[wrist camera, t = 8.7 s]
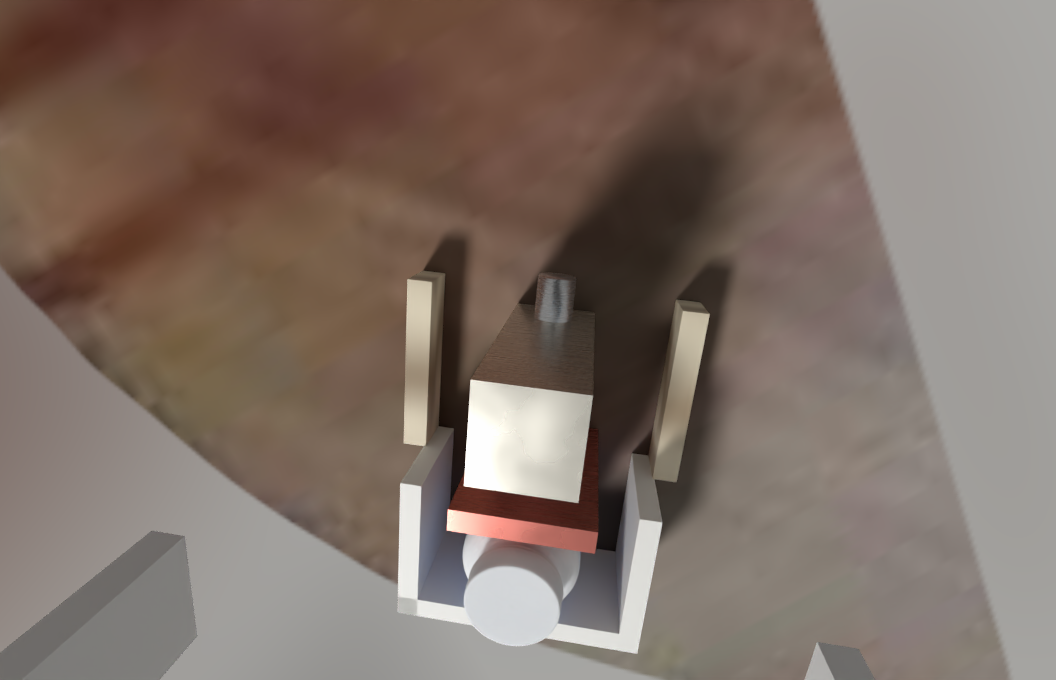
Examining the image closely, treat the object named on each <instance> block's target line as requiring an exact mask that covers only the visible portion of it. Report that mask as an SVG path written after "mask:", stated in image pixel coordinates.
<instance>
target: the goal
mask: <svg viewBox="0 0 1056 680" xmlns="http://www.w3.org/2000/svg"><path fill="white" fill-rule="evenodd" d="M453 439H454V428H448V427H440V426H438V428H437V430H436V431H435V433H434V434H433V436H432V437H431V439H430V441H429V442H428V444H427V445H426V446H424V447H423V448H422V450H421V452H420V453H419V455H418V456H417V458H416V459H415V461H414V463H413V464H412V466H411V467H410V469H409V470H408V472H407V474H406V475H405V477H404V478H403V480H402V481H401V483H400V525H399V571H398V613H404V614H410V615H415V616H421V617H427V618H433V619H439V620H445V621H450V622H456V623H462V624H468V625H472V623H471V622H470V620H469V619H468V617H467V614H466V612H465V607H464V593H465V589H466V585H467V581H468V578H467V576H466V573H465V570H464V565H463V546H464V542H465V539H466V536H467V534H466V533H459V532H453V531H447V515H448V508H449V506H450V494H451V476H452V457H453ZM661 528H662V517H661V512H660V506H659V501H658V496H657V490H656V485H655V479H652V473H651V468H650V462H649V457H648V455H641V454H634V453H632V455H631V461H630V467H629V473H628V479H627V485H626V491H625V497H624V503H623V509H622V515H621V521H620V527H619V533H618V539H617V545H616V551H608V550H602V549H596V550H595V554H593V553H586V552H581V557H580V569H579V574H578V578H577V580H576V583H575V585H574V587H573V588H572V590H571V591H570V592H569V594H568V595H567V596H566V597H565V598H564V599H563V601H562V605H561V613H560V618H559V621H558V624H557V626H556V627H555V629H554V630H553V632H552V633H551V634H550V635H549V636H547V637H546V638H549V639H554V640H560V641H566V642H572V643H578V644H583V645H589V646H595V647H601V648H607V649H612V650H618V651H624V652H630V653H636V654H637V651H638V646H639V641H640V636H641V631H642V626H643V621H644V615H645V610H646V605H647V600H648V595H649V590H650V584H651V579H652V574H653V569H654V564H655V559H656V554H657V548H658V543H659V538H660V533H661Z"/></svg>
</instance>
